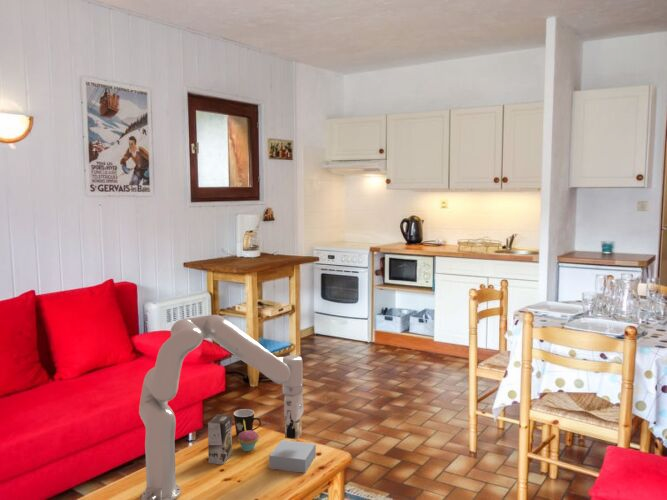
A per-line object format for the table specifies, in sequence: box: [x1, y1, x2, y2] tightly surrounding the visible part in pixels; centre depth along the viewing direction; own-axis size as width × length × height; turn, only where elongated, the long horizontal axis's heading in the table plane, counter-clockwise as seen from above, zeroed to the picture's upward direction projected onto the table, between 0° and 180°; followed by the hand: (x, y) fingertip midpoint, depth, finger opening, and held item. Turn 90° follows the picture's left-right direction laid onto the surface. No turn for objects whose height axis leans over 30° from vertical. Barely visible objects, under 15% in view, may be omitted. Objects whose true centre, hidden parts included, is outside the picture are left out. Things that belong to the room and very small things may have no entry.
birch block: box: [284, 418, 303, 441], centre depth 223 cm, size 5×5×6 cm
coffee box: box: [207, 413, 233, 465], centre depth 226 cm, size 9×6×16 cm
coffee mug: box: [233, 408, 262, 437], centre depth 246 cm, size 12×9×10 cm
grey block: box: [268, 439, 317, 474], centre depth 224 cm, size 14×14×5 cm
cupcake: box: [236, 419, 260, 452], centre depth 235 cm, size 9×8×12 cm
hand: (293, 434), depth 223 cm, fingers closed on birch block, 5 cm apart
